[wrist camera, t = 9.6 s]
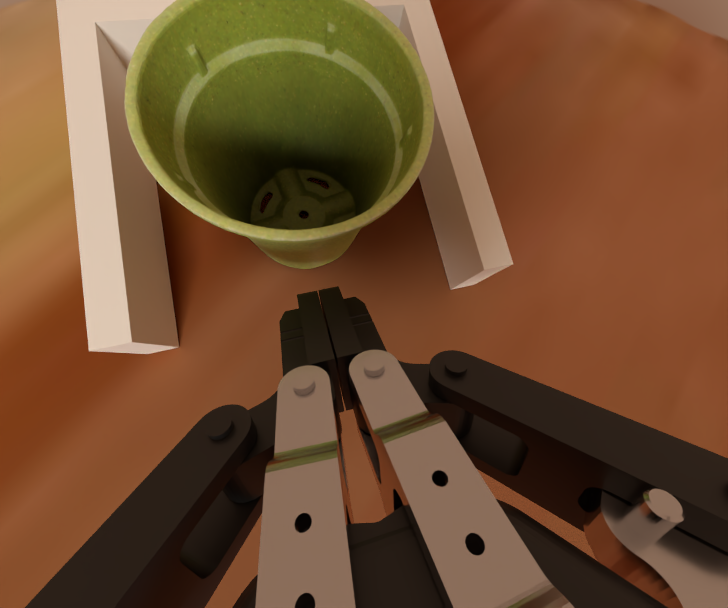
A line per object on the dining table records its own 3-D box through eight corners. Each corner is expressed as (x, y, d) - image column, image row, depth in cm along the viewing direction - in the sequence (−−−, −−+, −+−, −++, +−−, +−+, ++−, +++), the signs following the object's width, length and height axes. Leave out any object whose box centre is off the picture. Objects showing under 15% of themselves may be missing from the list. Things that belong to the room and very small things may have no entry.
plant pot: (404, 178, 19) (465, 34, 11) (358, 321, 17) (389, 282, 9) (258, 125, 19) (202, -69, 10) (193, 267, 17) (59, 170, 8)
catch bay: (147, 354, 16) (89, 350, 12) (113, 75, 18) (55, -3, 14) (473, 284, 19) (513, 264, 15) (405, 51, 21) (423, -20, 17)
